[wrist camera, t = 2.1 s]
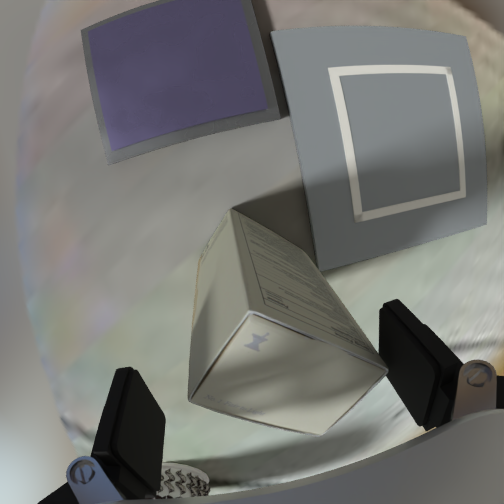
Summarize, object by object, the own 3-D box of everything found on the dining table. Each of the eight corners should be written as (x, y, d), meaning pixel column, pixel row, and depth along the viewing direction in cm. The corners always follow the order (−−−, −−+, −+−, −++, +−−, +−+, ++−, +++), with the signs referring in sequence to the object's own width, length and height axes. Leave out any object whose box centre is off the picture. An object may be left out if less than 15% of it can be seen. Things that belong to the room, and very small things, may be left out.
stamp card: (461, 37, 16) (466, 36, 15) (482, 222, 22) (487, 224, 21) (269, 34, 16) (271, 30, 15) (317, 268, 22) (319, 272, 21)
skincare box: (197, 260, 21) (175, 401, 9) (231, 203, 19) (244, 304, 8) (275, 301, 22) (318, 442, 11) (311, 250, 21) (394, 371, 10)
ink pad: (244, -11, 14) (246, -23, 13) (277, 119, 18) (283, 118, 16) (87, 34, 14) (76, 27, 12) (114, 163, 18) (104, 166, 16)
